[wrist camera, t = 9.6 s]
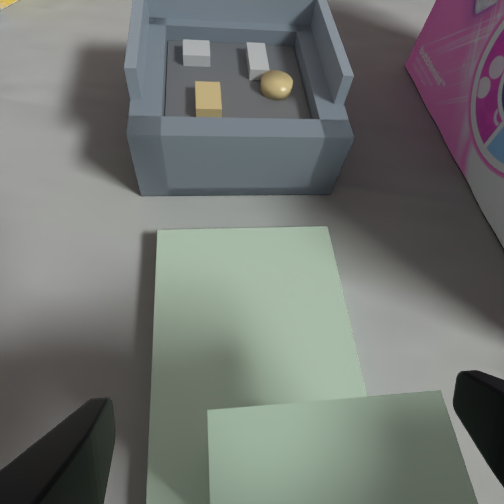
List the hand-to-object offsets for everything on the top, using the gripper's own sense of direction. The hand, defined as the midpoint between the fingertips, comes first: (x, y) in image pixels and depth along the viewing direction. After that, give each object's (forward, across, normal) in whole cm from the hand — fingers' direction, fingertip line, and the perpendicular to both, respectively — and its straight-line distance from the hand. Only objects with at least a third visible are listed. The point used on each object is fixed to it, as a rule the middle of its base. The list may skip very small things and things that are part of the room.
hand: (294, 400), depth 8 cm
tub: (+16, 0, -7) cm, 17 cm away
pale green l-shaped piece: (+7, 0, +3) cm, 7 cm away
